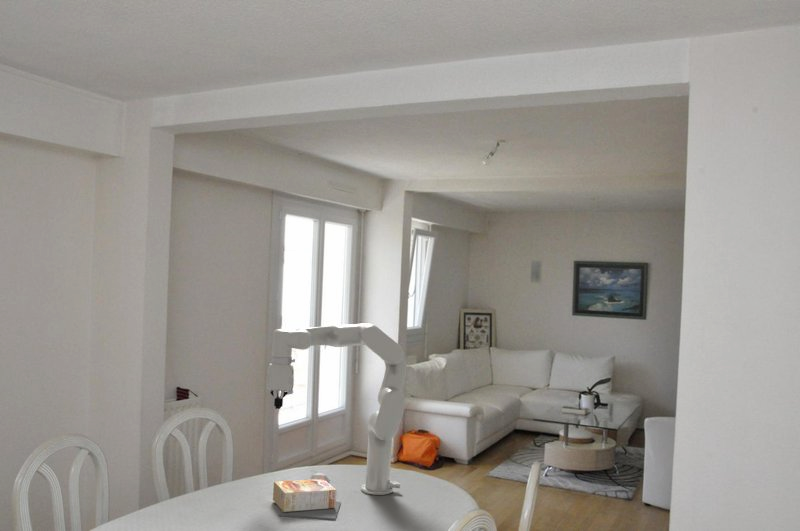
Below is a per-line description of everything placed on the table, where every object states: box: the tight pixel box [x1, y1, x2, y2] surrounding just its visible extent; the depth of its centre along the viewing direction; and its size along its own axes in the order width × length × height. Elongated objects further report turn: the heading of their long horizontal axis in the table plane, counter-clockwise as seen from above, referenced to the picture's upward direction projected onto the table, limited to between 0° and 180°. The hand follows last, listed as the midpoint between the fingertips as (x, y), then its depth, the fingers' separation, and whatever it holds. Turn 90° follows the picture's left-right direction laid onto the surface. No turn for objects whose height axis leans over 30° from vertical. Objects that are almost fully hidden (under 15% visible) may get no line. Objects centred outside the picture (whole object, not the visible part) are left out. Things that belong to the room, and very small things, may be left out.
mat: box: [278, 501, 342, 521], centre depth 255 cm, size 20×18×1 cm
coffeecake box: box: [272, 479, 337, 512], centre depth 259 cm, size 15×7×20 cm
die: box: [308, 472, 331, 485], centre depth 274 cm, size 8×9×10 cm
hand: (278, 408), depth 274 cm, fingers closed
